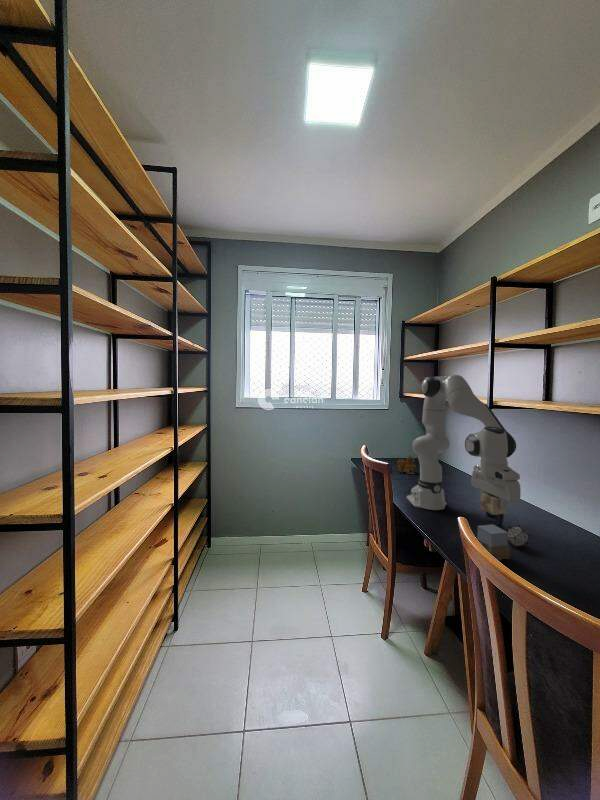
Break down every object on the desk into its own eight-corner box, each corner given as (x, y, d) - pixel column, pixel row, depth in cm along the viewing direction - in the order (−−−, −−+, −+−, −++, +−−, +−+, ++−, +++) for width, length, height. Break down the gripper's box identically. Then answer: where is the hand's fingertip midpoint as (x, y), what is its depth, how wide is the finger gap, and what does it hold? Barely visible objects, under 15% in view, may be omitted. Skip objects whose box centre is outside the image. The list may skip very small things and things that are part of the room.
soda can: (483, 529, 142) (484, 503, 141) (487, 524, 147) (488, 499, 146) (501, 534, 137) (501, 507, 137) (504, 528, 142) (505, 502, 142)
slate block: (477, 538, 123) (477, 525, 123) (493, 536, 124) (493, 524, 124) (491, 547, 116) (491, 533, 116) (507, 545, 117) (507, 532, 117)
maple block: (480, 508, 122) (480, 493, 122) (494, 507, 123) (494, 492, 123) (492, 514, 116) (492, 498, 116) (506, 513, 117) (506, 497, 117)
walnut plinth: (475, 550, 123) (475, 537, 123) (492, 548, 125) (493, 536, 125) (490, 561, 116) (491, 548, 115) (509, 559, 117) (509, 546, 117)
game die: (512, 555, 127) (495, 534, 128) (516, 541, 132) (500, 521, 133) (534, 553, 120) (517, 531, 121) (538, 538, 125) (521, 517, 127)
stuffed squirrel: (415, 475, 228) (415, 458, 228) (395, 473, 234) (395, 456, 234) (416, 472, 237) (417, 455, 237) (397, 470, 243) (397, 453, 243)
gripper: (467, 464, 129) (467, 497, 129) (508, 477, 109) (508, 516, 109) (480, 463, 130) (480, 496, 130) (524, 476, 110) (523, 515, 110)
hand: (493, 505), depth 119 cm, fingers closed on maple block, 6 cm apart
